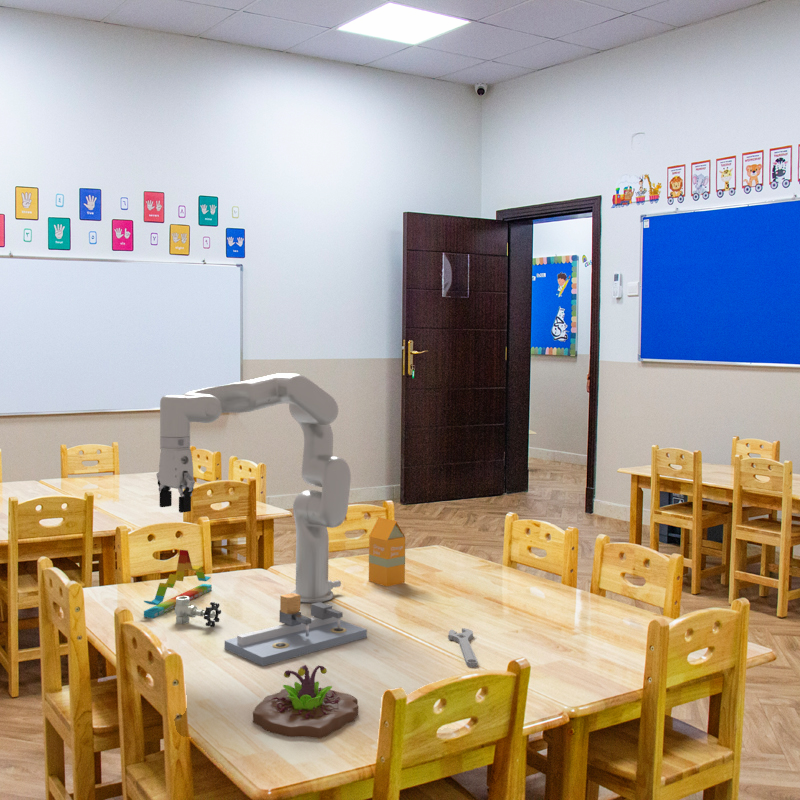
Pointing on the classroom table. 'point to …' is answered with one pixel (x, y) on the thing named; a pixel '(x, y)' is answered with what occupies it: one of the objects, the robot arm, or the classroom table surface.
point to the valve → (195, 611)
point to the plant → (305, 708)
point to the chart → (179, 576)
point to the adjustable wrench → (465, 645)
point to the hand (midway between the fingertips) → (175, 509)
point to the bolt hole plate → (296, 637)
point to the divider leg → (292, 611)
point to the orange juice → (386, 553)
